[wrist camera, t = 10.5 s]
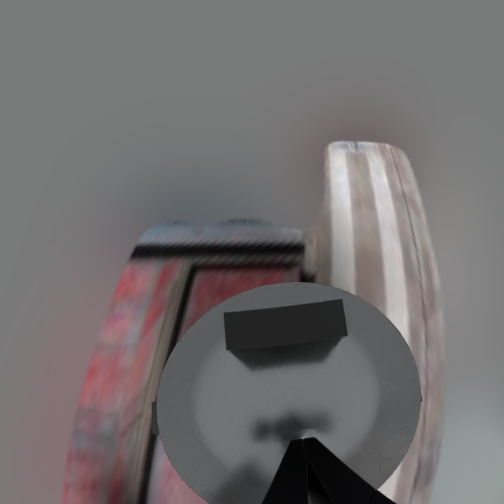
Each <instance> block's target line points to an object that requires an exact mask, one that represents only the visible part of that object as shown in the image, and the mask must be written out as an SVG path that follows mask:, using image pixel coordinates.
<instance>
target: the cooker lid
mask: <svg viewBox="0 0 504 504" xmlns="http://www.w3.org/2000/svg"><path fill="white" fill-rule="evenodd" d="M420 406H421V387H420V380H419V374H418V370H417V367H416V363H415V360H414V357H413V355H412V353H411V351H410V348H409V346H408V344H407V343H406V341H405V339H404V338H403V336H402V335H401V333H400V332H399V330H398V329H397V328H396V327H395V326H394V324H393V323H392V322H391V321H390V320H389V319H388V318H387V317H386V316H385V315H384V314H383V313H381V312H380V311H379V310H378V309H377V308H375V307H374V306H372V305H371V304H369V303H368V302H366V301H365V300H363V299H361V298H359V297H357V296H355V295H353V294H351V293H349V292H347V291H344V290H341V289H338V288H335V287H331V286H326V285H321V284H316V283H305V282H287V283H276V284H270V285H265V286H260V287H257V288H254V289H250V290H247V291H244V292H242V293H240V294H237V295H235V296H233V297H230V298H228V299H227V300H225V301H223V302H221V303H220V304H218V305H216V306H215V307H213V308H212V309H211V310H209V311H208V312H207V313H205V314H204V315H203V316H201V317H200V318H199V319H198V320H197V321H196V322H195V323H194V324H193V325H192V326H191V327H190V328H189V329H188V330H187V331H186V333H185V334H184V335H183V336H182V338H181V339H180V340H179V342H178V343H177V344H176V346H175V348H174V350H173V351H172V353H171V355H170V357H169V358H168V361H167V363H166V366H165V368H164V370H163V373H162V376H161V380H160V384H159V388H158V396H157V423H158V428H159V433H160V438H161V441H162V444H163V447H164V450H165V452H166V454H167V456H168V458H169V460H170V462H171V464H172V466H173V467H174V469H175V470H176V472H177V473H178V474H179V476H180V477H181V479H182V480H183V481H184V482H185V483H186V484H187V485H188V486H189V487H190V488H191V489H192V490H193V491H194V492H195V493H196V494H197V495H199V496H200V497H201V498H202V499H204V500H205V501H206V502H208V503H209V504H261V503H262V501H263V499H264V497H265V495H266V493H267V491H268V489H269V487H270V485H271V482H272V480H273V478H274V476H275V474H276V472H277V469H278V467H279V465H280V463H281V460H282V458H283V456H284V453H285V451H286V448H287V446H288V444H289V441H290V440H291V439H298V438H301V439H302V440H303V438H305V437H312V436H314V437H316V438H317V439H318V440H319V441H320V442H321V443H322V444H324V445H325V446H326V447H327V448H328V449H329V450H330V451H331V452H332V453H334V454H335V455H336V456H337V457H338V458H339V459H340V460H341V461H343V462H344V463H345V464H346V465H347V466H348V467H350V468H351V469H352V470H353V471H354V472H355V473H357V474H358V475H359V476H360V477H361V478H363V479H364V480H365V481H366V482H368V483H369V484H370V485H371V486H373V487H374V488H375V489H376V490H377V489H378V488H380V487H381V486H382V485H383V484H384V483H385V482H386V480H387V479H388V478H389V477H390V476H391V475H392V474H393V472H394V471H395V470H396V469H397V467H398V466H399V465H400V463H401V461H402V460H403V458H404V456H405V455H406V453H407V451H408V449H409V447H410V445H411V442H412V440H413V437H414V435H415V431H416V428H417V424H418V420H419V414H420ZM308 504H312V502H311V499H310V495H309V492H308Z"/></svg>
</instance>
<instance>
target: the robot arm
mask: <svg viewBox="0 0 504 504" xmlns="http://www.w3.org/2000/svg"><path fill="white" fill-rule="evenodd" d="M308 492H309V495H310V499H311V502H312V504H396V503H395V502H393V501H392V500H390V499H389V498H387V497H386V496H385V495H383V494H382V493H381V492H379V491H378V490H376V489H375V488H374V487H373V486H371V485H370V484H369V483H368V482H366V481H365V480H364V479H363V478H361V477H360V476H359V475H358V474H357V473H355V472H354V471H353V470H352V469H351V468H350V467H348V466H347V465H346V464H345V463H344V462H343V461H341V460H340V459H339V458H338V457H337V456H336V455H335V454H334V453H332V452H331V451H330V450H329V449H328V448H327V447H326V446H325V445H324V444H322V443H321V442H320V441H319V440H318V439H317V438H316V437H314V436H312V437H305V438H303V440H302V439H301V438H298V439H291V440H290V441H289V444H288V446H287V448H286V451H285V453H284V456H283V458H282V460H281V463H280V465H279V467H278V469H277V472H276V474H275V476H274V478H273V480H272V482H271V485H270V487H269V489H268V491H267V493H266V495H265V497H264V499H263V501H262V503H261V504H308Z"/></svg>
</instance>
